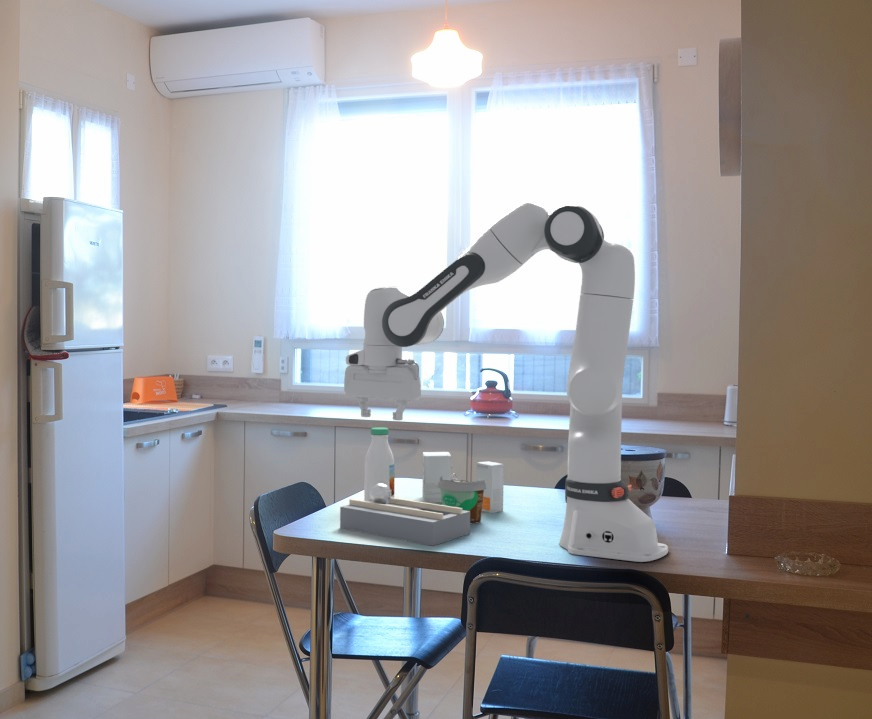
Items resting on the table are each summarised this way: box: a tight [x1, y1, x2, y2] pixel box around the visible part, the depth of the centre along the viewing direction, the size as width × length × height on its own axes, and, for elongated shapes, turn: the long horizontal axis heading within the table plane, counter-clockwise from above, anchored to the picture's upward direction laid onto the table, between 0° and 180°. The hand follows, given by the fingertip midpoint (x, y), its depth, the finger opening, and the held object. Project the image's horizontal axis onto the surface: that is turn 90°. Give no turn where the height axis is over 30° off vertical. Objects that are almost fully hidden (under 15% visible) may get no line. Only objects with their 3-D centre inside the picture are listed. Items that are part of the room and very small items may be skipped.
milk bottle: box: [363, 426, 395, 501], centre depth 223 cm, size 8×8×20 cm
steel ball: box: [370, 483, 391, 504], centre depth 199 cm, size 5×5×5 cm
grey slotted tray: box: [339, 497, 471, 547], centre depth 195 cm, size 26×14×6 cm, turn 54°
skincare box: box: [475, 460, 505, 514], centre depth 218 cm, size 6×4×12 cm
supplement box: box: [422, 451, 452, 503], centre depth 230 cm, size 7×7×13 cm
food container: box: [437, 476, 486, 524], centre depth 204 cm, size 12×6×10 cm, turn 62°
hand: (381, 418), depth 198 cm, fingers open, 8 cm apart
